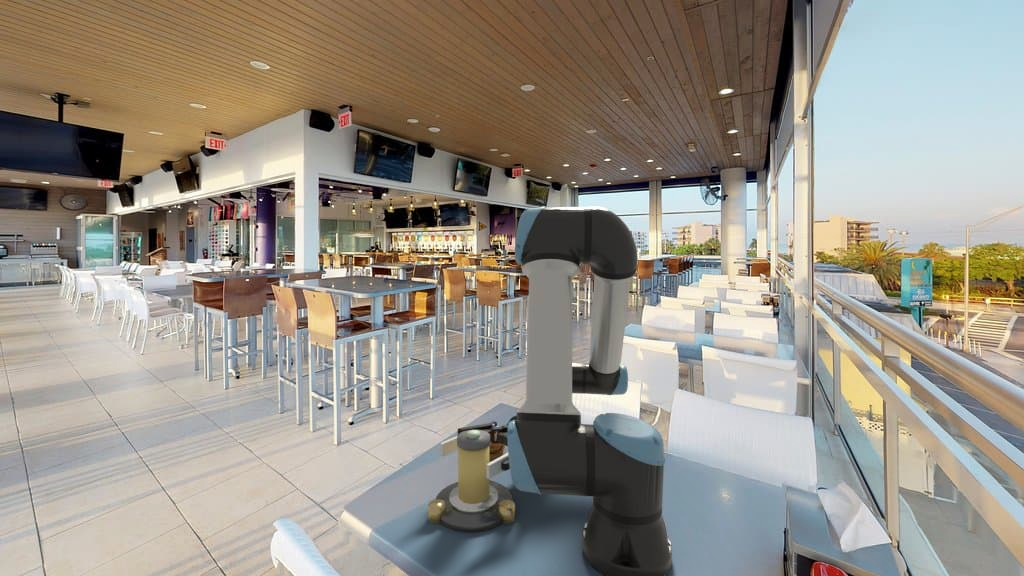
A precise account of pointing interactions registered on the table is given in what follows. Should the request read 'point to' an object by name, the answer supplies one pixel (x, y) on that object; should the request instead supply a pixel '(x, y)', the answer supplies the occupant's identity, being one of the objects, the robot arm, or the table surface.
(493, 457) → the burger
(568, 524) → the table surface
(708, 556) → the table surface
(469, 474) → the yellow battery cell
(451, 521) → the tribrach
